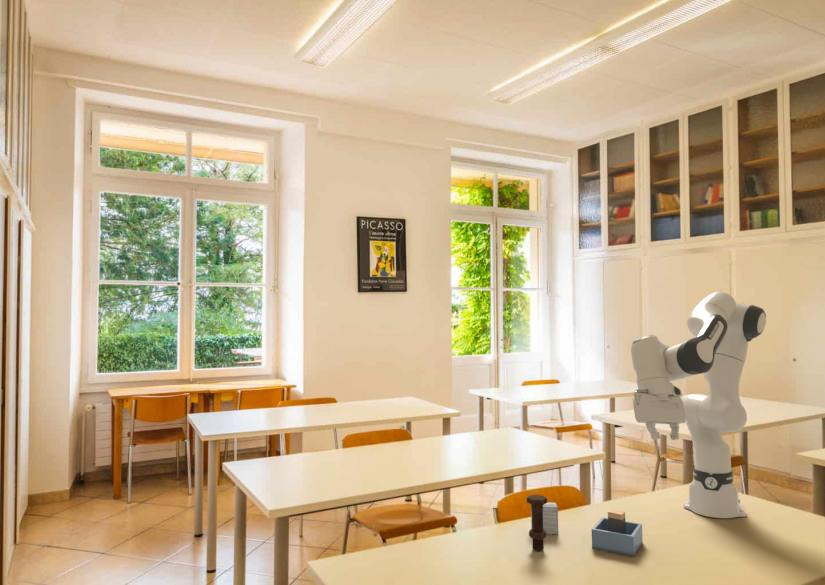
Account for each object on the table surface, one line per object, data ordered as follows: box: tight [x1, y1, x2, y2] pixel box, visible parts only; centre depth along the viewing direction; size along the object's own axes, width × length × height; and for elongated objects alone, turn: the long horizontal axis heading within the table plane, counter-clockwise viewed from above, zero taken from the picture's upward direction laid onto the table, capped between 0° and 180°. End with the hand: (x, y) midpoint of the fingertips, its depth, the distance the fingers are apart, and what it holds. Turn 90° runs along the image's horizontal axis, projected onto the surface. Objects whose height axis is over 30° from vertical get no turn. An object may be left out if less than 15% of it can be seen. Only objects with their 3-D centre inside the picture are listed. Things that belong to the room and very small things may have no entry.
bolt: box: [526, 494, 548, 552], centre depth 171 cm, size 6×5×15 cm
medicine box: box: [530, 501, 560, 535], centre depth 184 cm, size 8×4×9 cm, turn 84°
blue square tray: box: [591, 517, 644, 558], centre depth 172 cm, size 12×12×6 cm
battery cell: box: [607, 508, 626, 534], centre depth 172 cm, size 3×4×9 cm
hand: (665, 439), depth 166 cm, fingers open, 8 cm apart
